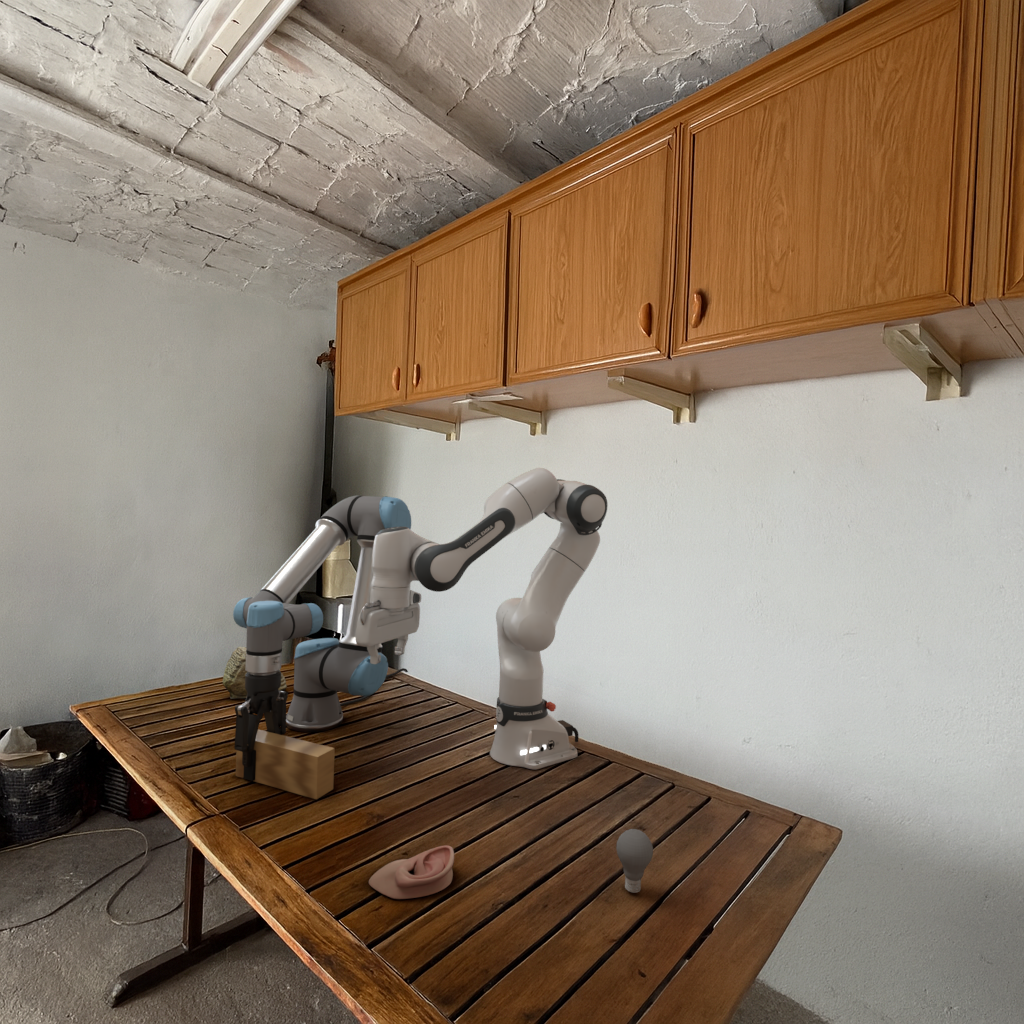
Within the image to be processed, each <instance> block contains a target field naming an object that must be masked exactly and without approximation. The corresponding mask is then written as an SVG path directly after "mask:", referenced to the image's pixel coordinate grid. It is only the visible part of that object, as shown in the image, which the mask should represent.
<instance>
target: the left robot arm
mask: <svg viewBox="0 0 1024 1024" xmlns="http://www.w3.org/2000/svg"><path fill="white" fill-rule="evenodd" d="M314 525H315V526H314V527H315V528H314V529H313V530H312V532H311V533H309V535H308V536H307V537H306V538H305V540H304V541H302V543H301V544H300V545H299V547H297V548H296V550H295V551H294V552H293V553H292V554H291V555H290V556H289V557H288V559H286V561H285V562H284V563H283V564H282V565H281V566H280V568H278V569H277V571H276V572H275V573H274V574H273V576H272V577H270V579H269V580H268V581H267V582H266V583H265V584H264V585H263V587H262V588H261V589H260V590H259V591H258V592H257V593H256V594H255V595H254V596H253V597H251V596H250V597H243V598H242V599H240V600H238V601H237V603H236V604H235V606H234V608H233V612H232V617H233V620H234V622H235V624H236V625H237V626H238V627H239V628H240V627H241V628H243V629H245V630H246V643H245V644H246V669H245V670H246V671H247V673H246V674H245V689H246V691H247V697H246V698H245V699H244V700H245V701H244V702H243V703H242V704H241V705H240V704H236V705H235V706H234V712H235V716H236V717H235V733H234V747H233V749H234V750H235V751H236V750H238V751H241V752H242V765H243V766H244V776H243V778H242V779H244V780H247V781H250V782H254V780H255V771H256V750H253V748H254V744H255V740H256V735H257V731H258V729H259V727H260V722H261V721H262V719H263V717H264V721H265V726H266V731H267V732H271V733H275V734H280V735H284V736H285V734H286V733H287V729H289V730H291V731H294V732H295V731H296V732H301V733H316V732H325V731H329V730H332V729H335V728H337V727H339V726H340V725H342V723H343V722H344V713H343V709H342V707H344V706H348V705H351V704H356V703H359V702H362V701H364V700H367V699H368V698H369V697H371V696H372V695H373V694H375V693H376V692H377V691H378V690H380V688H381V687H382V686H383V684H384V682H385V681H386V679H388V678H392V677H395V676H396V675H398V674H400V673H401V672H405V673H409V671H408V669H407V668H404V667H401V668H399V669H398V670H396V671H394V672H392V673H389V674H388V671H389V662H388V658H387V656H385V655H384V654H383V645H382V643H381V644H379V649H377V651H378V654H379V655H381V659H380V660H381V662H380V663H378V664H371V663H370V654H369V652H368V650H367V647H364V646H359V645H357V643H356V629H357V622H358V617H359V614H360V613H361V610H362V609H363V607H364V606H365V604H366V603H370V594H371V581H372V578H373V570H372V551H373V544H374V539H375V536H376V534H377V533H378V532H379V531H381V530H383V529H386V528H391V527H408V528H409V529H410V530H411V529H412V514H411V511H410V509H409V507H408V505H407V503H406V502H405V501H404V500H402V499H400V498H398V497H393V496H387V495H385V496H380V495H379V496H376V495H373V496H372V495H352V496H349V497H346V498H343V499H342V500H340V501H338V502H337V503H336V504H333V506H331V507H330V508H329V509H328V510H327V511H325V512H324V513H323V514H322V516H320V518H319V519H318V520H316V522H315V524H314ZM353 537H356V542H357V543H358V545H359V546H360V553H359V557H358V558H359V559H358V565H357V569H356V574H355V575H356V576H355V582H354V587H353V591H352V592H353V593H352V599H351V604H350V610H349V616H348V622H347V627H346V632H345V635H344V636H342V638H340V639H338V638H335V637H322V638H313V639H308V640H304V641H302V642H299V643H298V644H297V645H296V647H295V652H294V653H295V654H294V657H293V659H294V660H293V662H294V663H293V665H294V666H293V695H292V696H293V697H292V699H291V702H290V704H289V708H288V711H287V701H288V697H289V692H288V691H280V690H278V689H279V688H280V686H281V673H282V671H281V669H282V660H283V659H282V658H283V644H284V643H283V642H284V641H289V640H293V639H297V638H301V637H308V636H310V635H314V634H316V633H318V632H319V631H320V630H321V629H322V627H323V625H324V624H323V623H324V614H323V611H322V608H320V606H318V605H317V604H316V603H312V602H310V603H308V602H307V603H306V602H304V603H301V604H293V603H291V601H292V600H293V599H294V598H295V597H296V595H297V594H298V593H299V592H300V591H301V590H302V588H303V587H304V586H305V585H306V584H307V582H308V581H309V580H310V579H311V578H312V577H313V575H314V574H315V573H316V572H317V570H318V569H319V568H320V567H321V566H322V565H323V563H324V562H325V561H326V560H327V558H328V557H329V556H330V555H331V554H332V552H333V551H334V550H335V549H336V548H337V547H338V546H342V545H344V544H345V543H346V541H347V540H348V539H350V538H353ZM338 692H340V693H344V694H349V695H351V696H353V697H354V696H359V697H360V698H356V699H352V700H348V701H343V702H340V699H339V695H338ZM247 744H248V745H247Z"/></svg>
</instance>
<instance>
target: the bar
mask: <svg viewBox="0 0 1024 1024" xmlns="http://www.w3.org/2000/svg"><path fill="white" fill-rule="evenodd" d="M247 745H248V744H247ZM253 750H256V771H255V780H254V781H253V782H254V783H258V784H261V785H264V786H268V787H272V788H275V789H279V790H281V791H285V792H288V793H292V794H296V795H299V796H303V797H305V798H309V799H313V800H318V799H319V798H321V797H323V796H325V795H326V794H328V793H330V792H331V791H333V790H334V780H335V753H336V752H335V751H336V748H335V747H332V746H328V745H325V744H324V745H323V744H320V743H315V742H311V741H306V740H303V739H300V738H295V737H292V736H287V735H285V734H284V735H283V734H282V735H280V734H275V733H271V732H267V730H262V729H259V728H258V731H257V735H256V740H255V744H254V748H253ZM235 752H236V753H235V777H237V778H241V779H244V778H243V776H244V766H243V765H242V752H241V751H238V750H235Z"/></svg>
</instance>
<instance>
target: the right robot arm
mask: <svg viewBox="0 0 1024 1024" xmlns="http://www.w3.org/2000/svg"><path fill="white" fill-rule="evenodd" d="M608 506H609V505H608V499H607V495H605V493H604V492H603V491H602V490H600V488H598V487H596V486H594V485H592V484H587V483H585V482H581V481H577V480H565V479H561V478H560V479H559V478H558V479H557V478H556V476H555V475H554V474H553V472H551V470H549V469H547V468H545V467H536V468H533V469H530V470H528V471H526V472H523V473H521V474H519V475H518V476H516V477H514V478H512V479H511V480H508V482H506V483H504V484H503V485H501V486H500V487H498V488H497V489H496V490H495V491H494V492H493V493H492V494H491V495H490V496H489V497H487V499H486V500H485V502H484V505H483V515H482V517H481V519H480V520H478V521H477V523H476V524H474V525H473V526H472V527H470V528H469V529H468V530H466V531H464V532H463V533H461V535H459V536H458V537H457V538H455V539H454V540H452V541H450V542H447V543H438V542H435V541H431V540H429V539H427V538H425V537H423V536H422V535H421V536H420V535H419V534H417V533H415V532H414V531H413V530H411V529H409V528H408V527H391V528H386V529H383V530H381V531H379V532H378V533H377V534H376V536H375V539H374V544H373V551H372V570H373V578H372V581H371V594H370V603H366V604H365V606H364V607H363V609H362V610H361V613H360V614H359V617H358V622H357V629H356V643H357V645H359V646H364V647H367V650H368V652H369V654H370V663H371V664H378V663H380V662H381V660H380V659H381V655H379V654H378V651H377V649H379V644H381V645H382V644H383V643H386V642H391V641H393V640H396V639H397V643H396V646H394V655H395V656H402V655H404V654H405V649H406V648H405V647H406V646H407V643H408V640H409V635H412V634H415V633H417V631H418V629H419V627H420V621H421V620H420V619H421V606H420V603H421V602H422V593H420V592H417V591H414V590H412V589H411V583H412V582H415V581H416V582H419V583H420V584H421V585H422V587H424V588H425V589H427V590H429V591H432V592H436V593H439V592H446V591H448V590H451V589H452V588H454V587H455V585H457V584H458V583H459V581H460V580H461V578H462V577H463V575H464V573H465V572H466V571H467V569H468V568H469V567H470V565H472V564H473V563H474V562H476V560H478V559H479V558H481V557H482V556H483V555H484V554H486V553H487V552H488V551H489V550H491V549H492V548H493V547H495V546H496V545H497V544H498V543H499V542H501V541H502V540H504V539H505V538H506V537H508V536H510V535H511V534H513V533H515V532H517V531H518V530H520V529H522V528H523V527H524V526H526V525H528V524H530V522H532V521H534V520H535V519H536V518H537V517H539V516H540V515H542V514H544V515H545V516H546V517H548V518H550V519H552V520H555V521H557V522H559V523H560V525H559V531H558V533H557V535H556V538H555V539H554V540H553V541H552V542H551V544H550V545H549V547H548V548H547V550H546V551H545V552H544V554H543V556H542V558H540V560H539V562H537V565H536V566H535V568H534V569H533V571H532V572H531V574H530V579H529V582H528V584H527V587H526V590H525V592H524V594H523V596H522V597H511V598H508V599H505V600H504V601H502V602H500V604H499V606H498V607H497V609H496V613H495V619H496V620H495V622H496V629H497V630H496V633H497V649H498V659H499V661H498V662H499V681H498V682H499V683H498V697H497V698H496V707H495V708H496V709H495V721H496V724H494V725H493V726H494V728H493V729H494V730H495V731H494V736H493V741H492V745H491V748H490V750H489V756H490V758H491V759H493V760H494V761H496V762H498V763H500V764H504V765H507V766H511V767H521V768H526V769H529V770H539V769H543V768H546V767H549V766H552V765H555V764H559V763H563V762H566V761H570V760H572V759H576V758H578V757H579V755H578V750H577V748H576V747H575V746H574V745H573V744H572V743H571V742H570V737H572V736H573V735H574V742H575V743H578V742H579V732H578V731H579V730H578V729H577V728H576V727H574V726H573V724H571V723H569V722H567V721H565V720H563V719H561V720H556V719H555V718H554V717H553V716H552V715H551V714H550V713H549V711H550V712H554V711H556V709H557V705H556V703H554V702H552V701H547V700H546V699H544V698H543V696H544V695H543V694H544V692H543V691H544V666H543V661H542V656H541V652H542V651H544V650H546V649H548V648H549V647H550V646H551V645H552V644H553V641H554V640H555V637H556V628H557V625H558V622H559V620H560V618H561V615H562V613H563V610H564V607H565V605H566V603H567V601H568V599H569V597H570V595H571V594H572V592H573V591H574V589H575V588H576V587H577V584H578V583H579V582H580V580H581V579H582V577H583V575H584V574H585V572H586V571H587V569H588V568H589V566H590V565H591V562H592V561H593V559H594V557H595V555H596V552H597V551H598V548H599V546H600V543H601V535H600V533H599V530H600V529H601V527H602V525H603V522H604V520H605V518H606V516H607V512H608Z"/></svg>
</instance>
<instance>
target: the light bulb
mask: <svg viewBox="0 0 1024 1024" xmlns="http://www.w3.org/2000/svg"><path fill="white" fill-rule="evenodd" d="M615 849H616V854H617V857H618V859H619V861H620V863H621V865H622V867H623V873H624V874H623V875H624V876H625V878H624V888H625V890H627V891H628V892H630V893H634V894H635V893H639V892H640V891H641V889H642V887H641V886H642V879H643V877H644V875H645V871H646V868H647V867H648V866H649V864H650V863H651V861H652V859H653V855H654V847H653V843H652V841H651V838H649V836H648V835H647V834H646V833H645V832H643V831H642V830H641V829H636V828H629V829H627V830H625V831H623V832H622V833H621V834H620V835H619V837H618V839H617V841H616V847H615Z"/></svg>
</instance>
